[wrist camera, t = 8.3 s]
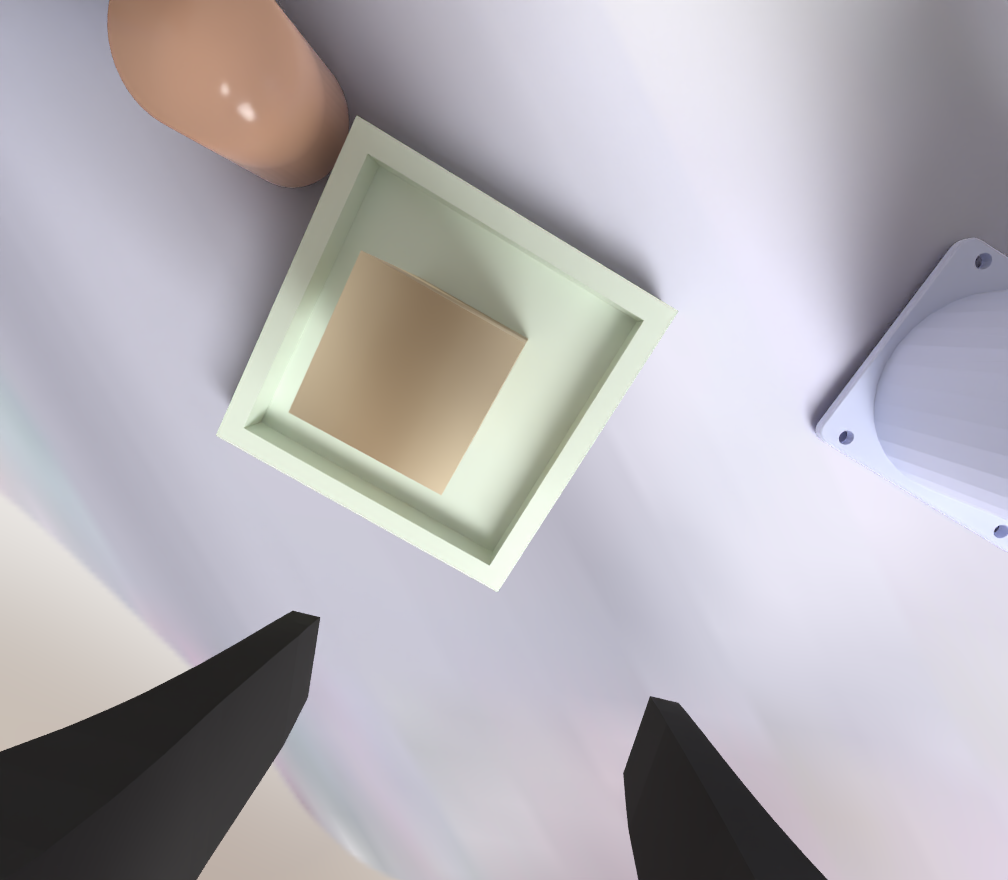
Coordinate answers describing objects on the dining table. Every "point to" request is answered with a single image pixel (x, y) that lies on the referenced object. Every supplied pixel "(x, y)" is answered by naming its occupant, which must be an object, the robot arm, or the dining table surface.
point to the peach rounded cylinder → (233, 83)
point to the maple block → (405, 372)
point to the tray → (491, 290)
